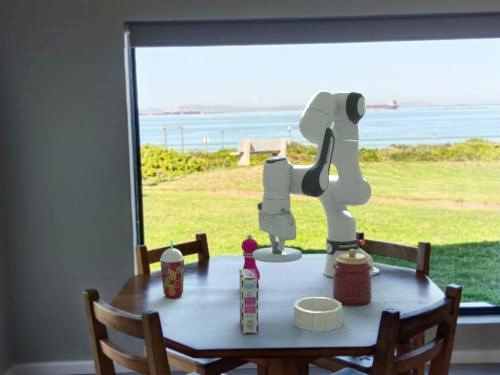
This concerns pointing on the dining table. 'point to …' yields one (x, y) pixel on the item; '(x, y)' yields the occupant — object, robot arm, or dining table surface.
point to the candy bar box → (248, 301)
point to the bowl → (317, 313)
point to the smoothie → (172, 272)
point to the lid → (277, 254)
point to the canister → (352, 279)
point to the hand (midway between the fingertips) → (277, 248)
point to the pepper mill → (250, 254)
